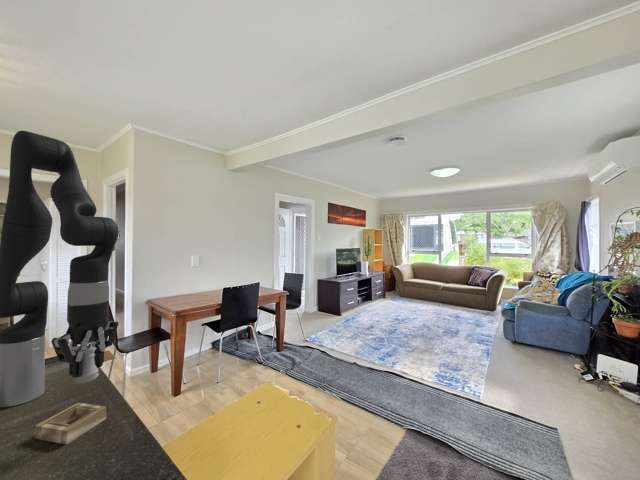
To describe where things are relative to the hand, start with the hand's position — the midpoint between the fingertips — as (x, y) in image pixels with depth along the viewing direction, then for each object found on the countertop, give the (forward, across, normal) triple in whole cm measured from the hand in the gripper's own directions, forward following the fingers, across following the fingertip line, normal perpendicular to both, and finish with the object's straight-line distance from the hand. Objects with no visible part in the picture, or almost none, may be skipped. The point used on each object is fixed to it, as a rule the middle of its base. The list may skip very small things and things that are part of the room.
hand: (87, 371), depth 64 cm
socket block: (+14, 0, -4) cm, 15 cm away
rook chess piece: (+2, 0, 0) cm, 2 cm away
